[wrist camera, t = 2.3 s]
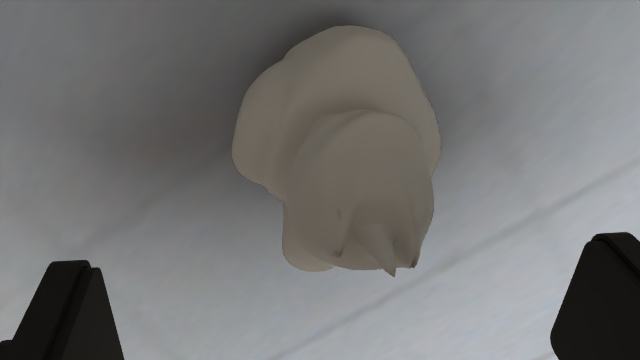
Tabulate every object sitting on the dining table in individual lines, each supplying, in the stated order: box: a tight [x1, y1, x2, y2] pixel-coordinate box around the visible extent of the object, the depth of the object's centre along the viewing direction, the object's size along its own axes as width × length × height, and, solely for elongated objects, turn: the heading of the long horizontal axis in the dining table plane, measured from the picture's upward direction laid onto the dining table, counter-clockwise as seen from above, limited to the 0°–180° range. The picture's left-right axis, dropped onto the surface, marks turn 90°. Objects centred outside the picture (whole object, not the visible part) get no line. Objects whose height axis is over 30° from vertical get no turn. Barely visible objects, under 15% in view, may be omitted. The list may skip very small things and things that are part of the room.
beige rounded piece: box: [231, 25, 441, 277], centre depth 12 cm, size 5×7×8 cm
